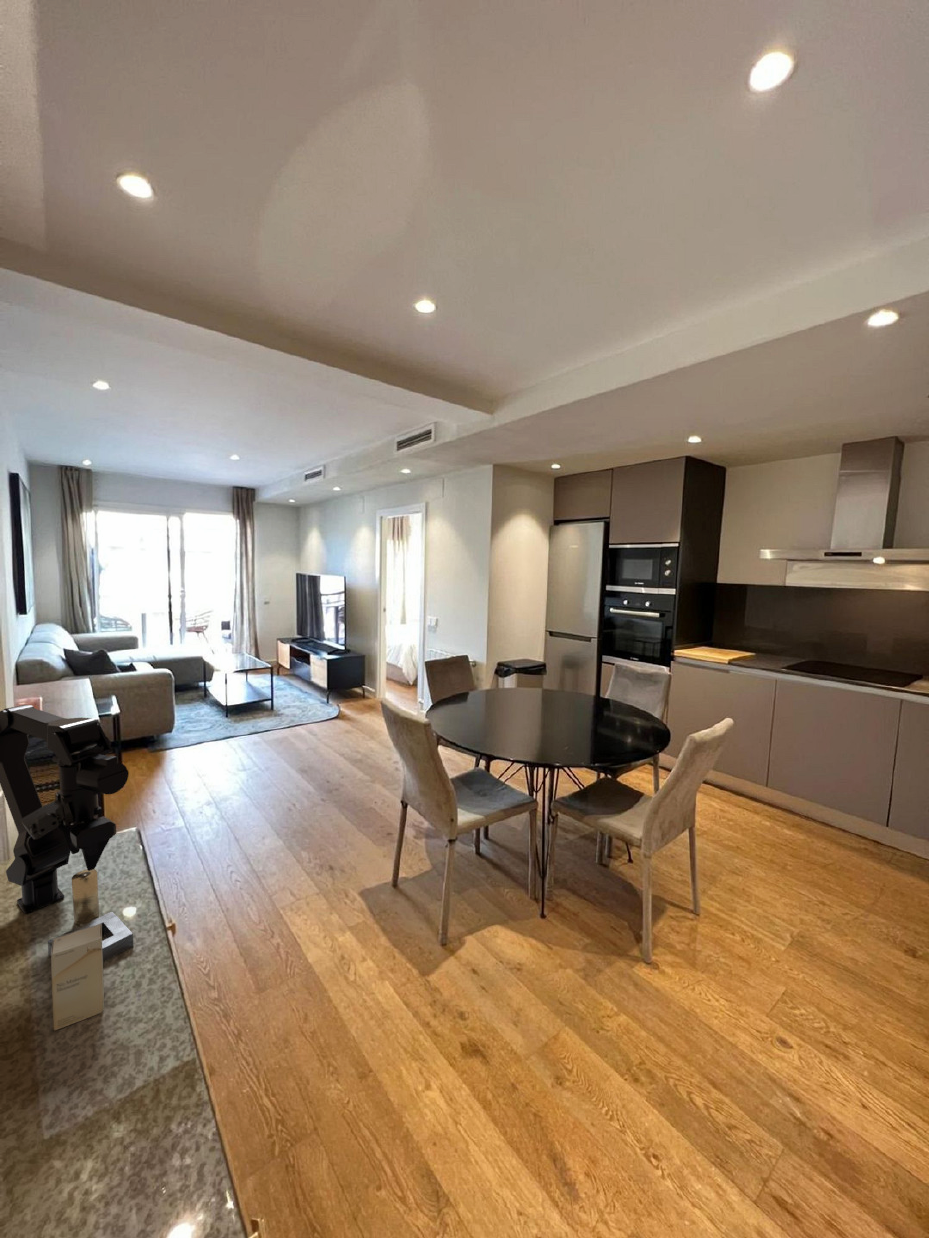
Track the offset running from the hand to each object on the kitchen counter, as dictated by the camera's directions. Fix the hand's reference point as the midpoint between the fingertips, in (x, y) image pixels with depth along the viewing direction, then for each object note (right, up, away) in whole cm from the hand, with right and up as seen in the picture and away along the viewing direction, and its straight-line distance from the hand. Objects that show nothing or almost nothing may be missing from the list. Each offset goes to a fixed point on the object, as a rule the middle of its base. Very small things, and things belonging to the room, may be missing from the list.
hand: (83, 861), depth 98 cm
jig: (+7, -13, -8) cm, 16 cm away
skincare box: (+15, -14, -20) cm, 29 cm away
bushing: (0, -12, +1) cm, 12 cm away
